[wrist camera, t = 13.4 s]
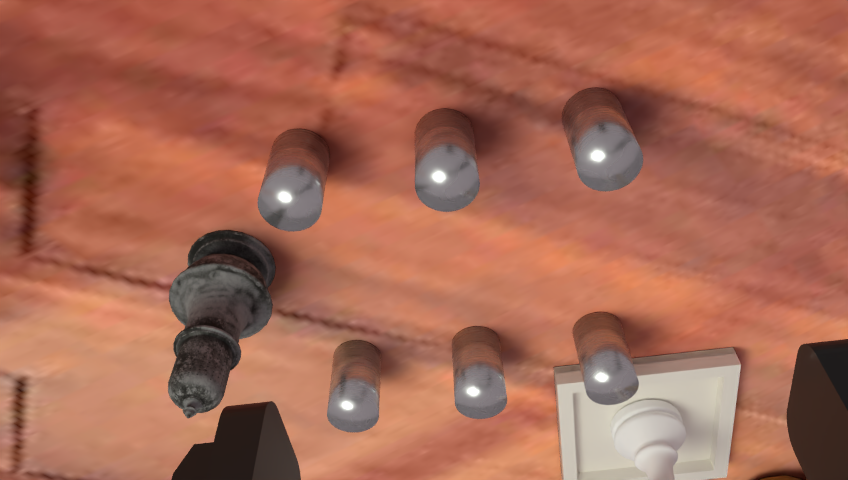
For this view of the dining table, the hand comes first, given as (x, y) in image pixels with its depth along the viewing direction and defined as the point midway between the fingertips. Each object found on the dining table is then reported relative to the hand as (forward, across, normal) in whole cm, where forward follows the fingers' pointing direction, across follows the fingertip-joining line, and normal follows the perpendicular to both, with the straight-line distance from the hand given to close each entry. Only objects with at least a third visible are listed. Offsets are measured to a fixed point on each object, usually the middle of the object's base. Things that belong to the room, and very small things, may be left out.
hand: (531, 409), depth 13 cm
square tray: (+30, -9, +37) cm, 49 cm away
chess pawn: (+30, -9, +37) cm, 48 cm away
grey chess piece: (+30, +16, +19) cm, 39 cm away
